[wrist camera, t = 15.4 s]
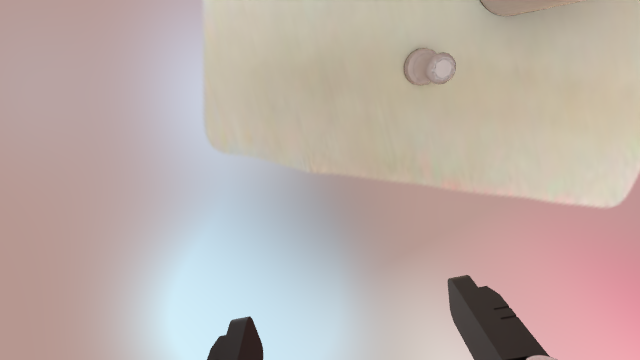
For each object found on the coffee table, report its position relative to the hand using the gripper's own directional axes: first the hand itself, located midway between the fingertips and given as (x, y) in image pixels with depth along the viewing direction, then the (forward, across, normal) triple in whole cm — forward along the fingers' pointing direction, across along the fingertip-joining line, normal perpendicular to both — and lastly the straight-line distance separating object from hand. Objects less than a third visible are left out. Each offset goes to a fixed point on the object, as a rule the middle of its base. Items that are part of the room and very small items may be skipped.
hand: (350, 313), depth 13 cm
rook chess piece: (+33, -14, -6) cm, 37 cm away
